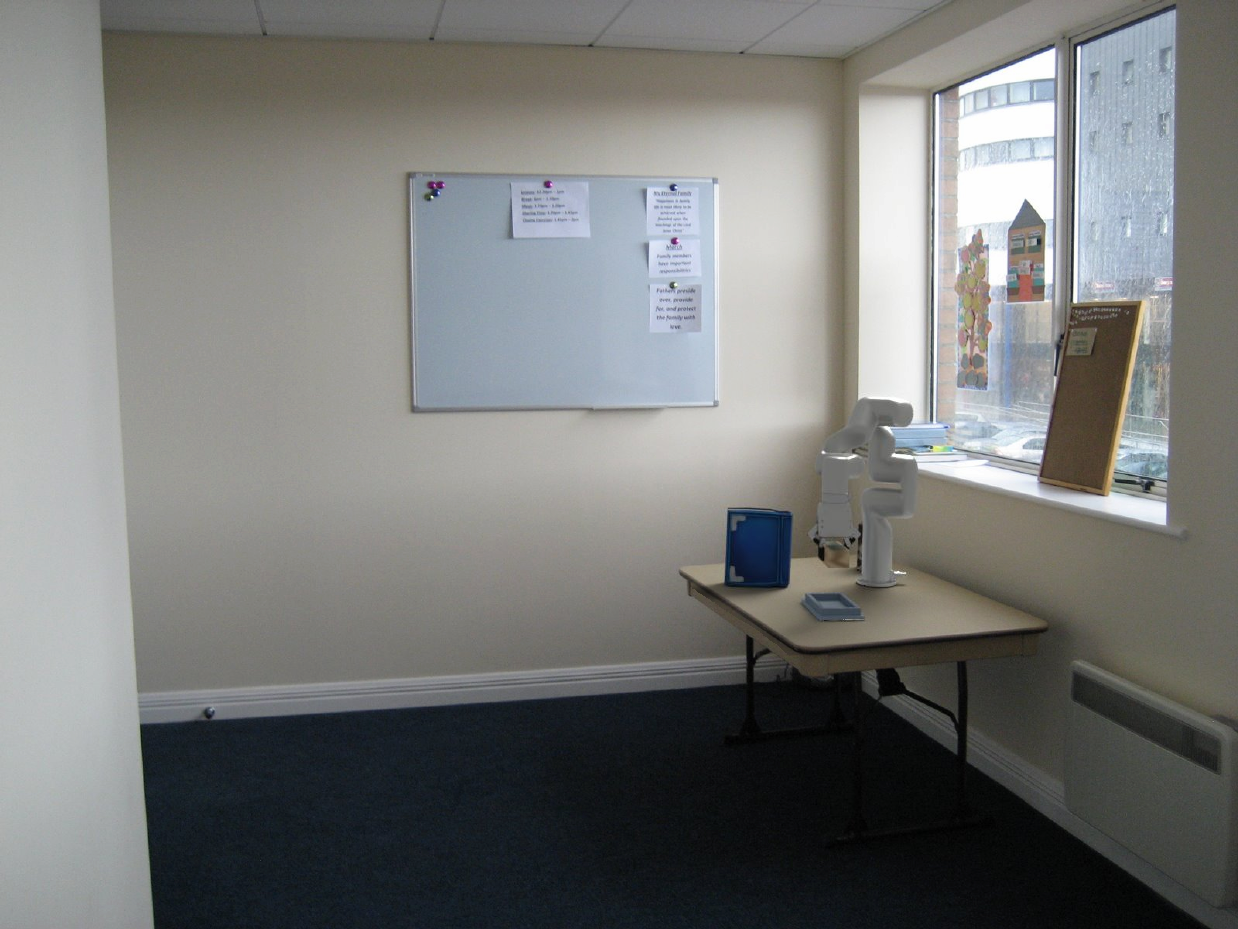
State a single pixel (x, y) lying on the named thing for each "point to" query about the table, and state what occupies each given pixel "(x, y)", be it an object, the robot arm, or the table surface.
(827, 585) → the table surface
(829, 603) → the blue tray
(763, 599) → the table surface
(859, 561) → the coffee box
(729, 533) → the book
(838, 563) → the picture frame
